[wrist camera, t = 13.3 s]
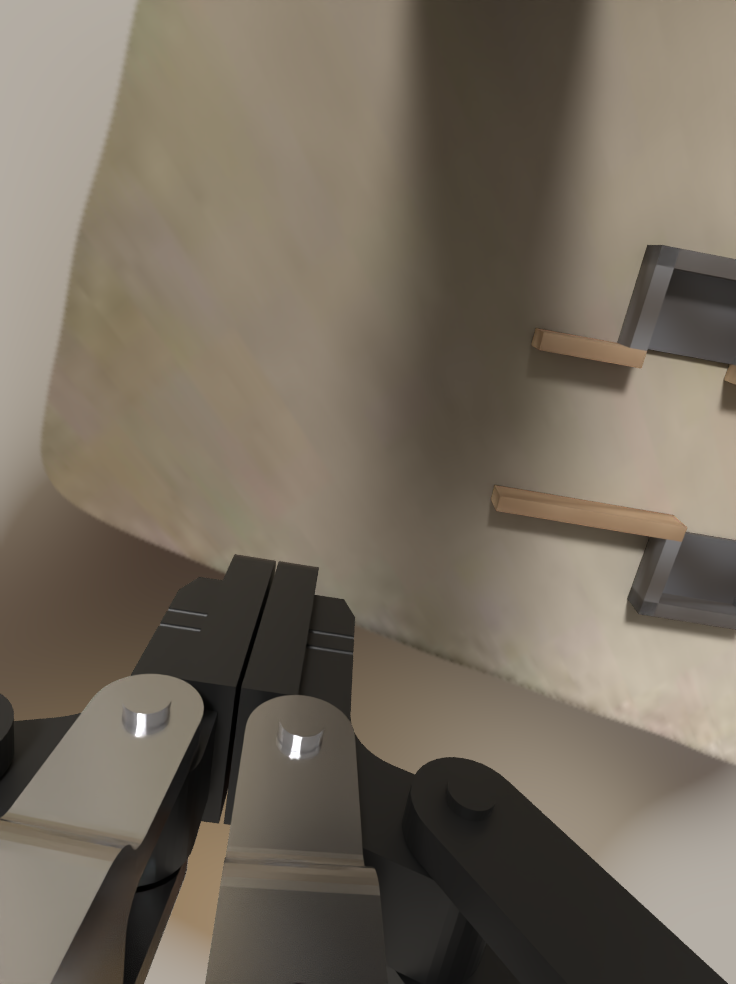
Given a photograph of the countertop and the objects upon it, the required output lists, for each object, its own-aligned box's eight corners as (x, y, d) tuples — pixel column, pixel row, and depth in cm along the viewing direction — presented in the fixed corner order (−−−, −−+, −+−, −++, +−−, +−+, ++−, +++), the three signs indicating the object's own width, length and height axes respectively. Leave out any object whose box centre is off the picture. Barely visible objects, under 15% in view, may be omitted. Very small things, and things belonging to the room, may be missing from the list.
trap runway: (561, 228, 36) (572, 227, 34) (994, 312, 38) (1027, 315, 36) (471, 573, 44) (475, 587, 42) (833, 631, 45) (853, 648, 43)
